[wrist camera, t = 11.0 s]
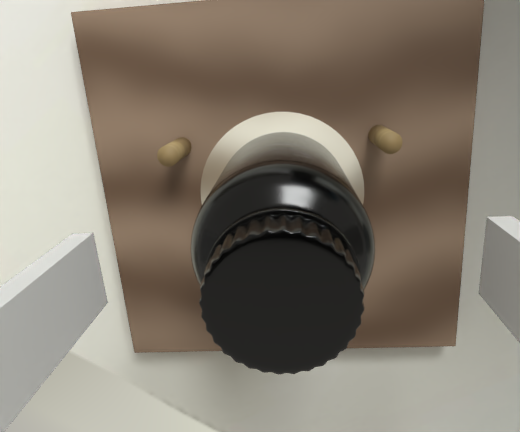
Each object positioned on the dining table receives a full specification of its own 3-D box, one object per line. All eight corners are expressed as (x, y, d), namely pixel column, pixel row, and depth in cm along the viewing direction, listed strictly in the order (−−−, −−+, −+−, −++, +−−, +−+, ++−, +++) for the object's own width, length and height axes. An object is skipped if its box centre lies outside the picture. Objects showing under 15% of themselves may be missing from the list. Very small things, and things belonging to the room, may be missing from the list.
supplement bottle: (202, 218, 24) (124, 345, 13) (254, 107, 22) (217, 141, 11) (309, 270, 25) (327, 435, 13) (370, 166, 23) (452, 257, 11)
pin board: (84, 16, 23) (37, 2, 18) (472, -18, 21) (519, -42, 17) (142, 339, 29) (116, 384, 25) (446, 331, 27) (475, 379, 23)
